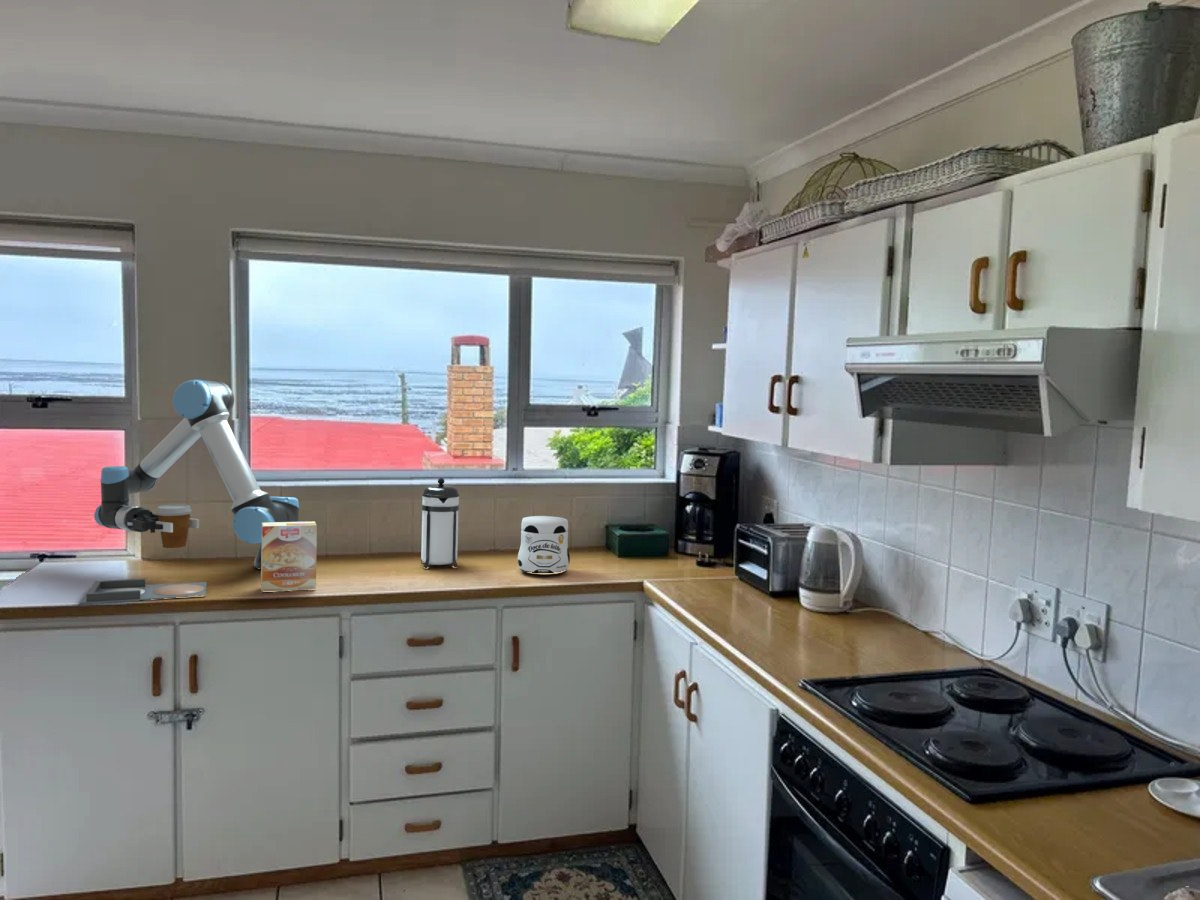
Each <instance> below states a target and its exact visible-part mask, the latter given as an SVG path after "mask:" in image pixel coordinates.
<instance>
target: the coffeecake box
mask: <svg viewBox="0 0 1200 900" xmlns="http://www.w3.org/2000/svg"><path fill="white" fill-rule="evenodd" d="M317 536H318V525H317V523H316V521H299V522H267V523H262V547H261V570H260V591H261V590H262V591H288V590H305V589H306V590H308V589H316V590H317V588H316V587H317V545H318V541H317V539H318V537H317ZM262 591H261V592H262ZM308 591H309V590H308Z"/></svg>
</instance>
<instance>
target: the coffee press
mask: <svg viewBox="0 0 1200 900" xmlns="http://www.w3.org/2000/svg"><path fill="white" fill-rule="evenodd" d="M437 483H438V484H433V485H428V486H425V488H424V489H423V490H422V492H421V497H422V501H421V502H422V503H421V548H420V549H421V553H420V556H421V557H420V558H421V560H420V562H421V561H423V562H424V564H423V567H425V568H427V567H430V568H431V567H432V566H433V565H437V566H442V565H443V566H444V565H448V566H450V567H451V566H455V567H457V566H458V567H459V565H458V562H457V560H458V547H459V545H458V544H459V543H458V541H459V540H458V539H459V511H460V502H459V501H460V496H461V493H460V492H459V489H458V488H457V487H456V486H453V485H449V484H447V485H446V484H445V479H444V478H443V477H439V478H438V479H437Z"/></svg>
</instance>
